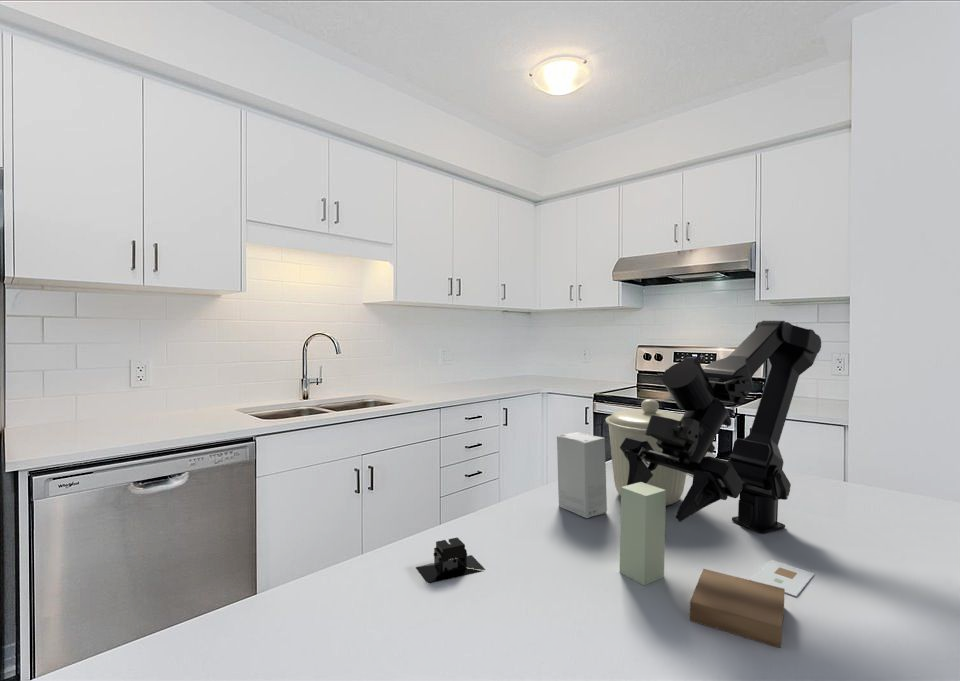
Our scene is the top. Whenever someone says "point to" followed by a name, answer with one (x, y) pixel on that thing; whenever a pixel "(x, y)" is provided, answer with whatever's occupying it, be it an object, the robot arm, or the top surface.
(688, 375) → the robot arm
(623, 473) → the canister
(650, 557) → the pillar
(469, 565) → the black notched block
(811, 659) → the top surface
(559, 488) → the skincare box
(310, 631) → the top surface
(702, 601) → the foundation slab
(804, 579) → the blueprint card
